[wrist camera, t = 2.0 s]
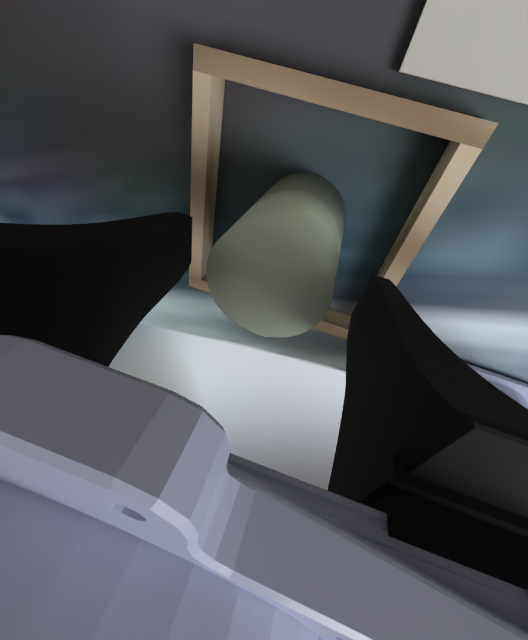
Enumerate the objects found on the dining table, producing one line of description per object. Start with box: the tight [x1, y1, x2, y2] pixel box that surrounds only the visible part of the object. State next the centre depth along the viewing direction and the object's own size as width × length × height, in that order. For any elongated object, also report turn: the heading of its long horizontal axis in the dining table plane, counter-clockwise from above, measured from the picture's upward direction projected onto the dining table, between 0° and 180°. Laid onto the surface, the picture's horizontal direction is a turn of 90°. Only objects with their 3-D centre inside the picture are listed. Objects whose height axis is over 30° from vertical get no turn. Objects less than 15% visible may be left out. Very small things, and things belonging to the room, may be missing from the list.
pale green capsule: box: [206, 172, 346, 338], centre depth 13 cm, size 6×5×7 cm
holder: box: [189, 43, 498, 340], centre depth 15 cm, size 12×12×2 cm
